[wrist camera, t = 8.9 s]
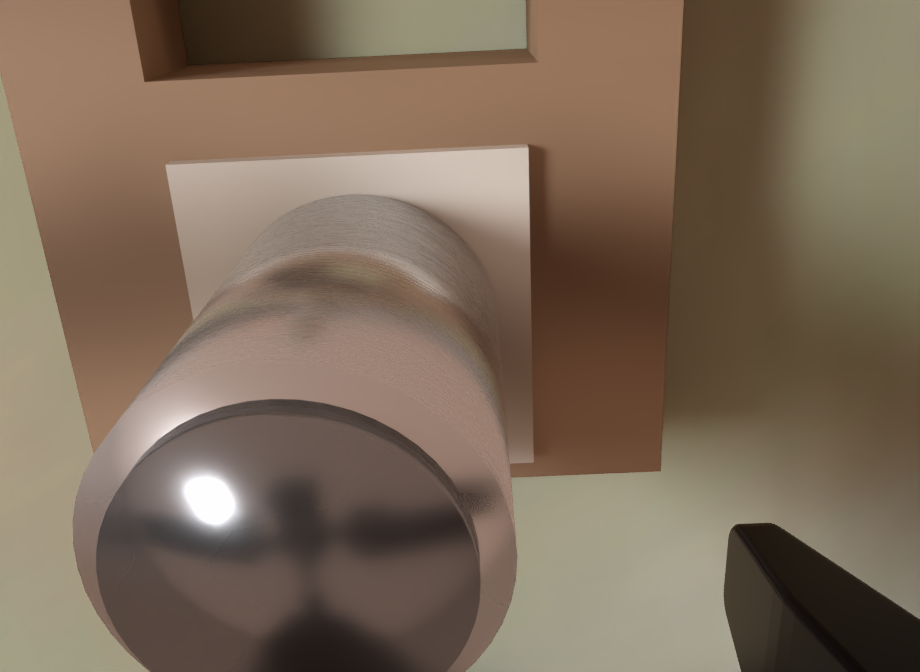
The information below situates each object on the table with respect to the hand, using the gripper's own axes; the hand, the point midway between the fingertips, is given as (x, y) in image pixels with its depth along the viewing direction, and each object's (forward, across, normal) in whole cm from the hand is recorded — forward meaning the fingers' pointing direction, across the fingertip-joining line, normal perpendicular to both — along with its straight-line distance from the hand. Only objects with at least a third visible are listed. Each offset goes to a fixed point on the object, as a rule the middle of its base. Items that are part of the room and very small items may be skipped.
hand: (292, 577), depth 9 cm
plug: (+7, 0, 0) cm, 7 cm away
